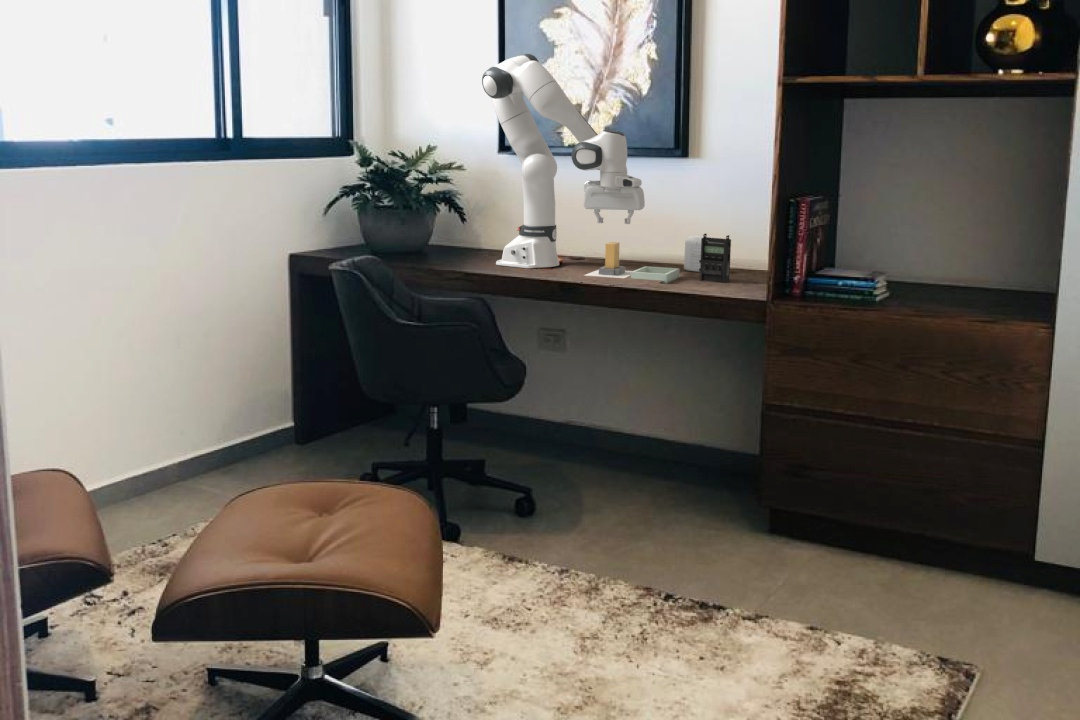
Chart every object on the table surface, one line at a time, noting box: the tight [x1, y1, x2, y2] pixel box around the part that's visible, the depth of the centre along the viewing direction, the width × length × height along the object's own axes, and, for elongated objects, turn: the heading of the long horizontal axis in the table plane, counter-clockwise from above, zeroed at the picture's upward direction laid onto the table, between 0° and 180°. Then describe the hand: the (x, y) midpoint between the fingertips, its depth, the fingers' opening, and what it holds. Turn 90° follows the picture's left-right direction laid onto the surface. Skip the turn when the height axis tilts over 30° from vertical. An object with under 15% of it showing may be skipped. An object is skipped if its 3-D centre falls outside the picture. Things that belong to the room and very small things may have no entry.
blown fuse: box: [604, 241, 620, 269], centre depth 365 cm, size 3×5×10 cm, turn 156°
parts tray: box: [630, 265, 680, 285], centre depth 360 cm, size 12×14×3 cm
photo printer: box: [683, 234, 711, 273], centre depth 376 cm, size 10×4×12 cm, turn 56°
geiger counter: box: [699, 233, 732, 284], centre depth 356 cm, size 10×4×15 cm, turn 56°
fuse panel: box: [583, 265, 633, 279], centre depth 366 cm, size 14×16×3 cm
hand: (613, 223), depth 362 cm, fingers open, 8 cm apart
